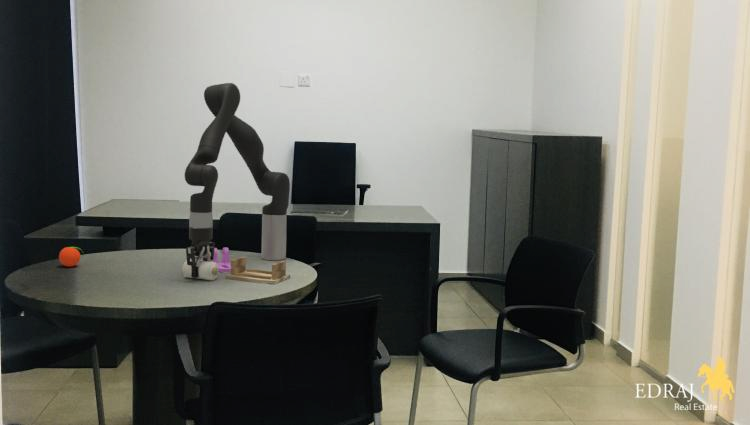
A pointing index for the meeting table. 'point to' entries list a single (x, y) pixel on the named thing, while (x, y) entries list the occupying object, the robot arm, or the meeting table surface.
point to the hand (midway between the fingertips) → (200, 275)
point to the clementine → (69, 256)
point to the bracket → (223, 265)
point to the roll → (202, 270)
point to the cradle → (257, 272)
